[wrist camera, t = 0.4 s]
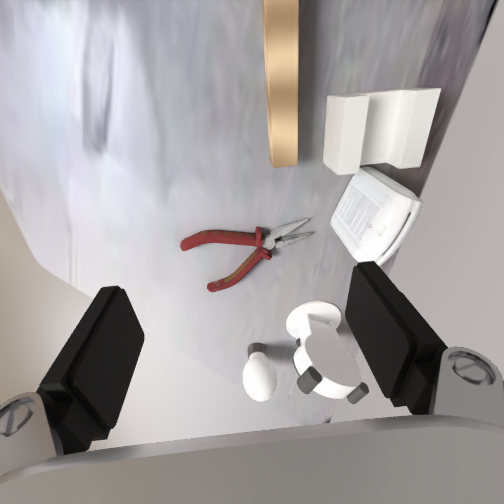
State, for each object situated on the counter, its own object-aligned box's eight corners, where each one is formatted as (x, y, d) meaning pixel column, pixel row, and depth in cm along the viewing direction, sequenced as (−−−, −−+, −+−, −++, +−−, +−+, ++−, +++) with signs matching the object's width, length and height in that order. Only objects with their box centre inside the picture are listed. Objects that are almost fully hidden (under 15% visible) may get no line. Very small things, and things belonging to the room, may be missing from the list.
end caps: (349, -242, 20) (391, -355, 15) (479, -252, 20) (563, -366, 15) (322, 162, 36) (337, 175, 31) (393, 155, 36) (420, 166, 31)
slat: (250, -206, 20) (255, -263, 17) (288, -210, 20) (300, -267, 17) (269, 159, 36) (273, 167, 32) (291, 157, 36) (297, 165, 32)
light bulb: (238, 342, 55) (240, 393, 46) (269, 336, 55) (277, 386, 46) (245, 360, 59) (247, 411, 50) (274, 355, 59) (282, 405, 50)
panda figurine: (273, 331, 54) (287, 405, 42) (301, 293, 49) (326, 365, 37) (320, 344, 58) (346, 416, 45) (351, 310, 53) (390, 380, 40)
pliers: (316, 250, 45) (321, 258, 42) (210, 287, 47) (209, 297, 45) (299, 190, 39) (303, 196, 36) (178, 237, 41) (176, 246, 39)
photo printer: (348, 231, 42) (386, 278, 32) (325, 225, 41) (357, 272, 31) (383, 170, 37) (442, 203, 27) (357, 161, 36) (408, 192, 26)
